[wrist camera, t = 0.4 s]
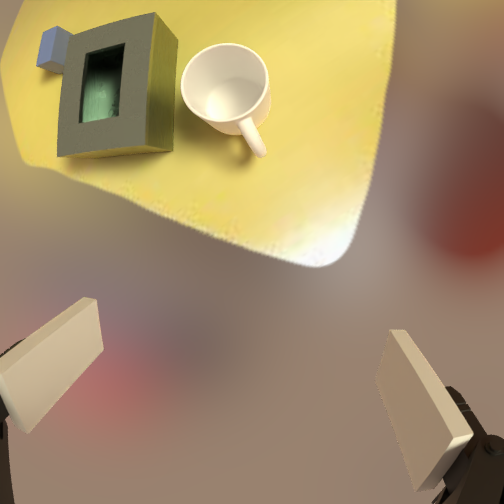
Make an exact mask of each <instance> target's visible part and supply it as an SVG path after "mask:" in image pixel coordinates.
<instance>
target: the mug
mask: <svg viewBox="0 0 504 504" xmlns="http://www.w3.org/2000/svg"><path fill="white" fill-rule="evenodd" d="M181 94H182V97H183V100H184V102H185V104H186V105H187V107H188V108H189V109H190V110H191V111H192V112H193V113H194V114H196V115H197V116H198V117H200V118H201V119H203V120H204V121H205V122H207V123H208V124H209V125H211V126H212V127H213V128H215V129H216V130H218V131H220V132H222V133H225V134H229V135H243V137H244V138H245V140H246V142H247V143H248V145H249V147H250V148H251V150H252V151H253V153H254V154H255V155H256V156H257V157H260V158H261V157H264V156H265V155H266V153H267V150H266V147H265V145H264V143H263V141H262V139H261V137H260V135H259V133H258V131H257V128H258V127H259V126H260V125H262V123H263V122H264V121H265V120H266V118H267V116H268V114H269V111H270V107H271V95H270V86H269V77H268V71H267V68H266V66H265V63H264V62H263V60H262V59H261V58H260V56H259V55H258V54H257V53H255V52H254V51H253V50H251V49H250V48H247V47H245V46H242V45H239V44H234V43H222V44H216V45H213V46H210V47H207V48H205V49H203V50H202V51H200V52H199V53H197V54H196V55H195V56H194V57H193V58H192V59H191V60H190V61H189V63H188V64H187V66H186V67H185V69H184V72H183V74H182V78H181Z"/></svg>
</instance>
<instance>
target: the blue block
mask: <svg viewBox="0 0 504 504" xmlns="http://www.w3.org/2000/svg"><path fill="white" fill-rule="evenodd" d="M70 36H73V34H71V33H70V32H68V31H66V30H64V29H62V28H61V27H59V26H56V27H54V28H51V29H49V30H47V31H45V32H43V35H42V39H41V44H40V49H39V54H38V59H37V64H36V66H37V67H40V68H43V69H46V70H49V71H52V72H54V73H57V74H61V73H63V71H64V64H65V58H66V52H67V47H68V41H69V37H70Z"/></svg>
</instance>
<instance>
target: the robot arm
mask: <svg viewBox="0 0 504 504" xmlns="http://www.w3.org/2000/svg"><path fill="white" fill-rule="evenodd" d="M103 350H104V348H103V342H102V335H101V329H100V323H99V315H98V307H97V300H96V299H92V298H87V297H83V298H82V299H80V300H79V301H77V302H76V303H74V304H73V305H72V306H70V307H69V308H67V309H66V310H65V311H63V312H62V313H60V314H59V315H57V316H56V317H55V318H53V319H52V320H50V321H49V322H48V323H46V324H45V325H43V326H42V327H41V328H39V329H38V330H37V331H35V332H34V333H33V334H31V335H30V336H28V337H27V338H25V339H23V340H20V341H18V342H17V343H16V344H14V345H13V346H11V347H10V349H7V350H6V351H5V352H4V354H3V353H2V354H1V355H0V504H15V503H14V498H13V490H12V483H11V474H10V464H9V450H8V426H7V423H6V421H5V419H6V417H8V415H9V416H10V418H11V420H12V422H13V424H14V426H15V427H17V428H19V429H20V430H22V431H24V432H26V433H28V434H29V433H30V431H31V430H32V429H33V428H34V427H35V426H36V424H37V423H38V422H39V421H40V420H41V419H42V418H43V416H44V415H45V414H46V413H47V412H48V411H49V410H50V408H51V407H52V406H53V405H54V404H55V403H56V402H57V400H58V399H59V398H60V397H61V396H62V395H63V394H64V393H65V392H66V391H67V389H68V388H69V387H70V386H71V385H72V384H73V383H74V382H75V381H76V379H77V378H78V377H79V376H80V375H81V374H82V373H83V372H84V371H85V370H86V369H87V367H88V366H89V365H90V364H91V363H92V362H93V361H94V360H95V359H96V358H97V357H98V355H99V354H100V353H101V352H102V351H103ZM375 383H376V385H377V388H378V390H379V393H380V396H381V398H382V401H383V403H384V406H385V409H386V411H387V414H388V416H389V419H390V422H391V424H392V427H393V430H394V432H395V435H396V438H397V441H398V444H399V446H400V449H401V452H402V455H403V458H404V460H405V464H406V467H407V470H408V472H409V475H410V479H411V482H412V485H413V488H414V491H415V492H421V491H425V490H430V489H434V488H435V487H436V486H437V485H438V483H439V482H440V481H441V479H442V478H443V480H444V482H445V485H446V486H445V487H444V488H443V490H442V491H441V492H440V493H439V494H438V495H437V497H436V498H435V499H434V500H433V501H432V504H434V503H435V502H436V503H435V504H504V439H503V438H501V437H499V436H496V435H487V433H486V432H485V431H484V429H483V427H482V426H481V424H480V423H479V421H478V420H477V418H476V417H475V415H474V413H473V412H472V411H471V409H470V407H469V406H468V404H466V402H465V400H464V398H463V397H462V395H461V394H460V393H459V392H458V391H456V390H455V389H454V388H452V387H451V386H449V387H444V385H443V384H442V382H441V381H440V379H439V378H438V377H437V375H436V373H435V372H434V371H433V369H432V368H431V366H430V365H429V363H428V362H427V360H426V359H425V357H424V356H423V354H422V353H421V352H420V350H419V349H418V347H417V346H416V345H415V343H414V342H413V340H412V339H411V338H410V336H409V335H408V334H407V332H406V331H405V330H389V334H388V338H387V341H386V345H385V349H384V352H383V355H382V359H381V362H380V365H379V369H378V372H377V375H376V378H375Z"/></svg>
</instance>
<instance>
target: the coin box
mask: <svg viewBox="0 0 504 504" xmlns="http://www.w3.org/2000/svg"><path fill="white" fill-rule="evenodd" d="M177 48H178V39H177V38H176V37H175V35H174V34H173V33H172V32H171V31H170V29H169V28H168V27H167V26H166V25H165V23H164V22H163V21H162V20H161V19H160V17H159V16H158V15H157V14H156V13H155V12H153V13H149V14H144V15H140V16H135V17H131V18H127V19H123V20H120V21H116V22H113V23H109V24H106V25H102V26H99V27H96V28H93V29H90V30H87V31H84V32H81V33H78V34H75V35H73V36H70V37H69V41H68V47H67V52H66V58H65V64H64V71H63V79H62V87H61V96H60V106H59V120H58V139H57V157H74V158H102V157H111V156H120V155H130V154H141V153H152V152H166V151H173V127H174V97H175V78H176V62H177Z"/></svg>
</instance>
